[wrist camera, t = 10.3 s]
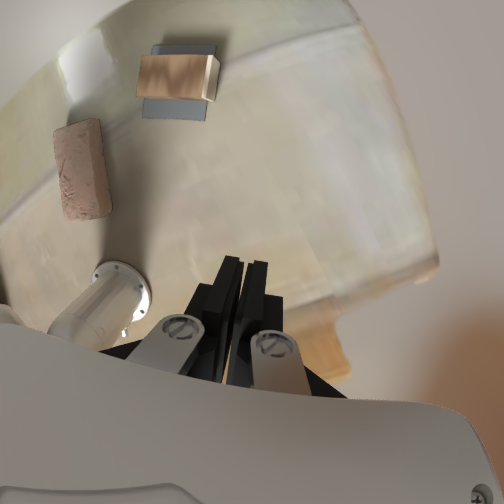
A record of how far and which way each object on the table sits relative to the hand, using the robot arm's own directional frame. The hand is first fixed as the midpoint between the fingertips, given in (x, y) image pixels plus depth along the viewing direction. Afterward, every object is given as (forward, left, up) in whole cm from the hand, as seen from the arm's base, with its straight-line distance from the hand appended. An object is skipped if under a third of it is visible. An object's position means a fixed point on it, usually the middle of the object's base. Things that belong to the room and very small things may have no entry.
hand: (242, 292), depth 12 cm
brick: (-2, +31, -34) cm, 46 cm away
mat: (+13, +15, -33) cm, 39 cm away
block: (+13, +9, -30) cm, 34 cm away
